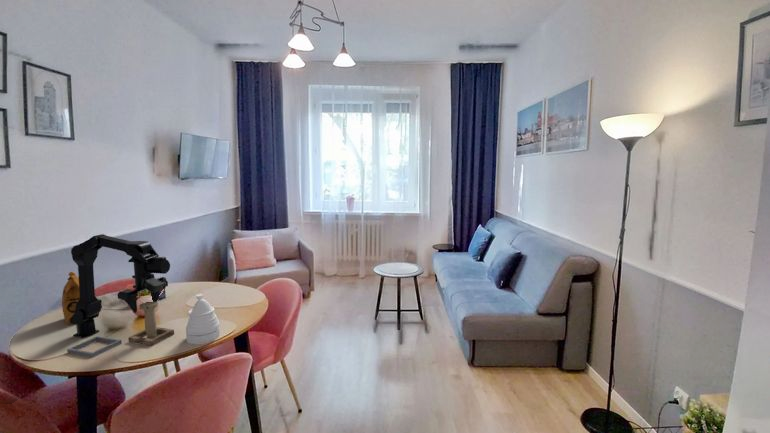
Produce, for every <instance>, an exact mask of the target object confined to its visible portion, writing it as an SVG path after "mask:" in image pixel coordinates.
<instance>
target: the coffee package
mask: <svg viewBox="0 0 770 433" xmlns="http://www.w3.org/2000/svg"><path fill="white" fill-rule="evenodd" d="M68 276H69V277H68V278H67V280H68V281H67V282H66V283H65V285H64V286H63V290H62V296H61V308H62V313H63V314H62V315H63V317H64V322H65V324H67V325H72V324H71V323H70V321H69V319H70V318H71V317H72V316H73V315H74V314H75V308H76V304H77V303H78V301H79V299H80V292H79V276H78V275H77V274H76V273H75V272H73V271H70V272H69V273H68Z"/></svg>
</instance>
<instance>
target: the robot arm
mask: <svg viewBox="0 0 770 433" xmlns="http://www.w3.org/2000/svg"><path fill="white" fill-rule="evenodd" d="M102 248H108V249H112V250H115V251H121V252H123V253H125V254H126V255H127V256H130V257H131V258H130V259H128V260H127V262H128V263H133V272H134V274H133V275H131V276H132V277H131V278H132V279H134V284H133V285H132V288H133V289H131V288H130V289H129V288H126V289H123V290H120V291H118V292H117V299H118V300H121V301H124V302H125V303H126V304H127V305H128V306H129V309H131V310H132V312H133V314H134V313H135V314H136V313H138V303H137V301H138V300H139V297H138V296H139V294H140V292H143V291H146V290H149V291H150V292H151V296H152V300H153V302H158V301H159V300H158V298H159V295H160V293H161V291H162V290H163V289H165V290H166V287H169V283H168V280H167V278H166V277H165V276H162V277H158V278H155V274H163V275H164V274H166V275H167V273H169V271H170V269H171V263H170V261H169V260H168V259H167V257H166V256H160V254H158V252H156V250H155V249H154V247H153V246H152V244H151V243H150V242H149V241H145V240H133V241H132V240H126V239H122V238H119V237H118V238H117V237H113V236H110V235H107V234H104V233H102V234H101V233H100V234H97V235H93V236H91V237H89V239H87V240H85V241H83V242H81V243H79V244H77V245H74V246H72V248H71V250H70V254H71V258H72V260H73V262H74V263H75V264H76V265H77V274H78V275H77V276H78V278H79V292H80V299H79V301H78V303H77V304H76V308H75V314H74V315H73V316H72V317H71V318H70V319H69V321H70V323H71V324H70V325H75V326H76V333H73V337H76V338H81V339H84V338H88V337H89V336H90V337H91V336H93V335H94V334H96V333H100V330H99V329H96V323H95V319H96V318H98V317H99V315H100V313H101V311H102V309H103V306H102V299H98V297H97V296H96V292H95V290H96V289H95V274H94V263H95V261H96V260H97V258H98V252H99V250H101V249H102Z"/></svg>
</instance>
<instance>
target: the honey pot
mask: <svg viewBox="0 0 770 433" xmlns="http://www.w3.org/2000/svg"><path fill="white" fill-rule="evenodd" d="M203 296H204V294H202V293H200V294H199V293H198V294H196V295H195V297H196V299H197V301H196V302H195V304H194V306H193V307H192V308H191V309H190V310H188V312H187V315H188V316H189V318H188V320H187V325H186V327H185V334H186V335H185V336H186V339H185V340H186V342H187V343H189V344H191V345H203V344H207V343H211V342H213V341H215V340H218V338H219V337H220V336H221V326H220V321H219V319H218V317H217V314H216V313H215V307H214V306H211V304H210V302H208V301H207V300H206V299H204V298H203Z"/></svg>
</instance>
